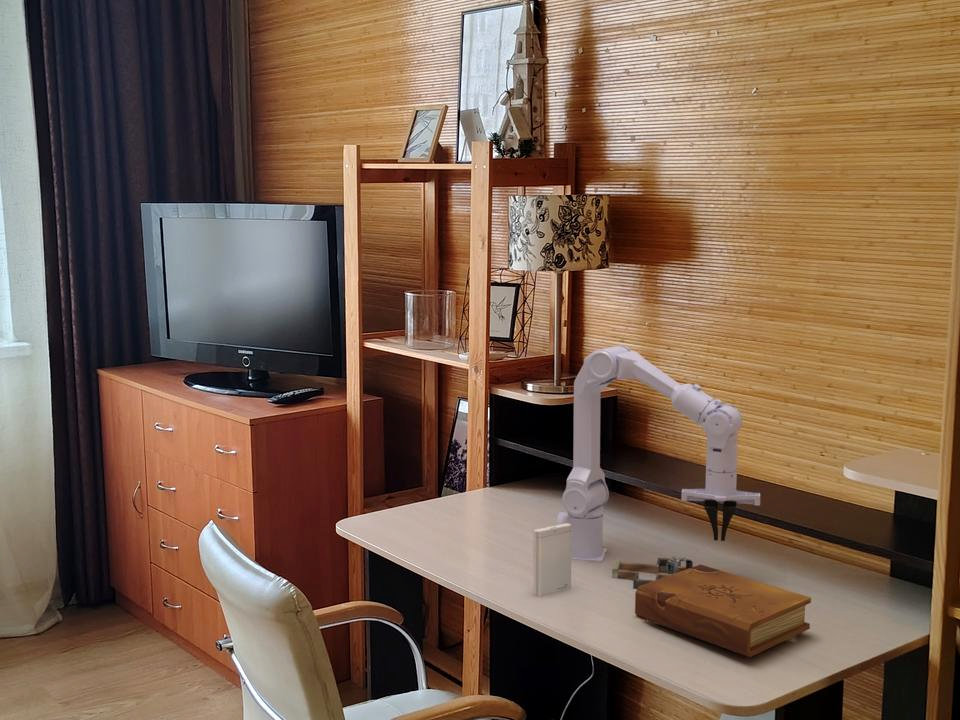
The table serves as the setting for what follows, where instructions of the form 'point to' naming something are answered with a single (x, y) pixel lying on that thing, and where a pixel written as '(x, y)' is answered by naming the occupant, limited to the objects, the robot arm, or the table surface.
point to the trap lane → (641, 570)
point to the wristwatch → (673, 564)
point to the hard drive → (552, 559)
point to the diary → (723, 609)
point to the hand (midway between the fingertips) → (719, 539)
